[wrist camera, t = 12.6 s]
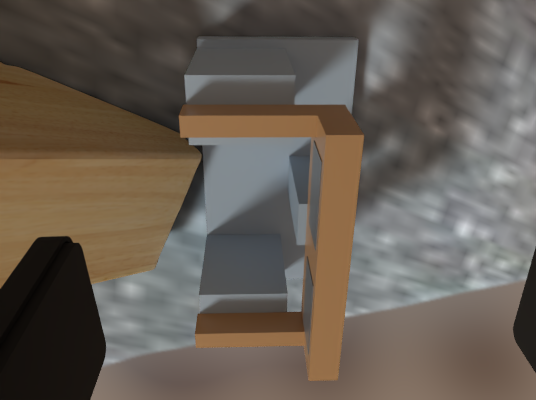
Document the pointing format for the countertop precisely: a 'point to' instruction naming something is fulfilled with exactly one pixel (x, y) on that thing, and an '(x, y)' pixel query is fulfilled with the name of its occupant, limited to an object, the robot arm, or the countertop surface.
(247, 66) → the gray blocky stand
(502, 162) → the countertop surface
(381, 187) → the countertop surface
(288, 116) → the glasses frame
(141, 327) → the countertop surface
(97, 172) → the knife block
